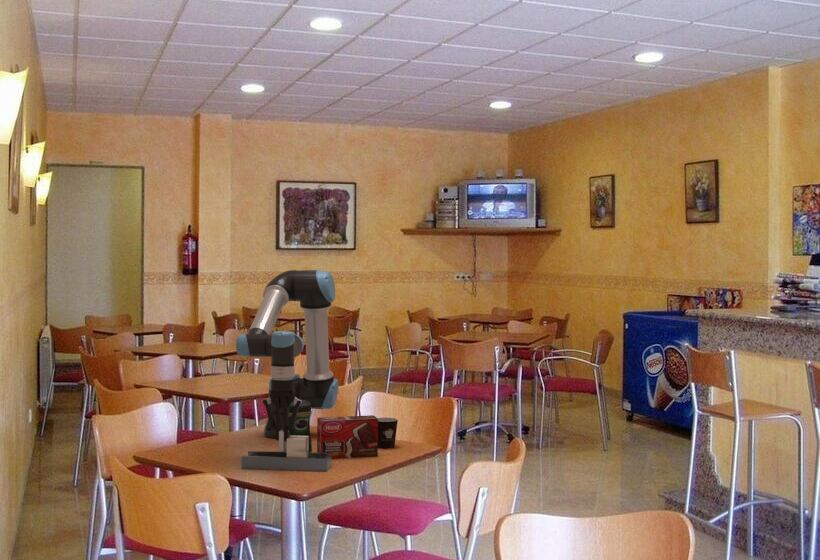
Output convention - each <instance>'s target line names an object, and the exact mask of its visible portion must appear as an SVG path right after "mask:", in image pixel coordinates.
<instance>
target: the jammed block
mask: <svg viewBox="0 0 820 560" xmlns="http://www.w3.org/2000/svg"><path fill="white" fill-rule="evenodd" d="M308 446H309V436H293V435H291V436H289V437H288V438H287V457H302V458H308Z"/></svg>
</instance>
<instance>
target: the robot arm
mask: <svg viewBox="0 0 820 560" xmlns="http://www.w3.org/2000/svg"><path fill="white" fill-rule="evenodd" d="M335 285H336V284H335V280H334V277H333V275H332V273H331V272H330V271H327V270H319V269H316V270H312V269H310V270H309V269H307V270H306V269H303V270H301V269H299V270H296V269H292V270H286V271H283V272H281V273H279V274H278V275H277V276H275V277H274V278H272V279H271V280H270V281H269V282H268V283H267V285H266V286H265V288H264V290H263V293H262V297H263V299H262V301H261V303H260V305H259V307H258V310H257V311H256V314H255V316H254V319H253V321H252V323H251V326H250V327H249V330H248V331H247V333H240V334H239V335H237V336H236V340H235V350H236V354H237V355H238V356H240V357H249V358H252V357H254V358H255V357H259V358H260V357H262V358H263V357H264V358H265V357H266V358H267V357H269V358H270V364H271V366H270V377H271V378H270V379H269V382H268V383H269V384H268V389H267V390H268V397H267V398H264V399H263V400H262V403H263V405H264V407H265V409H266V413H267V420H266V424H265V426H264V429H263V435H264V437H266V438H270V439H271V438H272V439H275V440H276V441H278V442H279V443H278V452H284V450H285V441H287V438H288V431H289V430H290V429H292V428H294V425H295V421H296V417H297V413H298V409H299V406H300V405H301V403H302V400H306V401H309V402H310V404H311V410H331V409H333V408H334V406H335V405H336V403H337V398H338V394H339V379H337V378H334V372H333V371H331V370H330V350H329V348H330V347H329V345H330V344H329V324H328V323H329V322H328V318H329V316H328V310H329V309H330V308H331V307H332V303H333V302H335V300H336V286H335ZM288 302H299V306H300V308H301V309H302V310H303V311H304V312H303V313H304V331H305V344H304V340H303V339H302V337H301V336H300V335H298V334H295V332H294V331H291V330H278V331H277V330H276V331H273V329H274V327H275V325H276V322H277V321H278V319H279V316H280V314H281V311H282V308H283V307H284V306H286V305H287V303H288ZM304 346H305V347H304ZM304 348H305V355H306V357H305V358H306V371H305V372H304V373H303V375H302V377H301V376H300V374H298V373H295V357H298V356H299V355H300V354H301V353H302V352H303V351H304ZM293 401H294V405H295V406H294V409H293V413H292V417H291V421H290V425H289V406H290V404H291V403H292V402H293ZM283 411H284V412H283Z"/></svg>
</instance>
